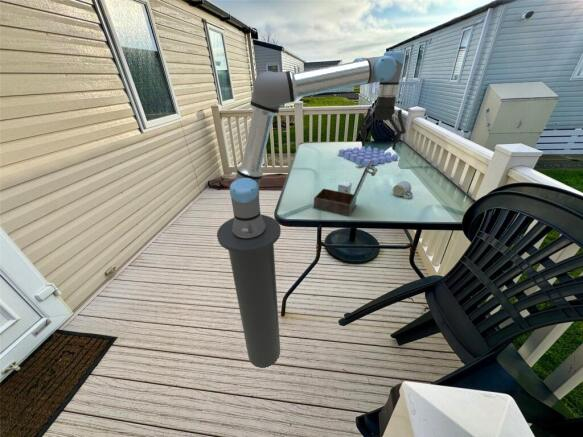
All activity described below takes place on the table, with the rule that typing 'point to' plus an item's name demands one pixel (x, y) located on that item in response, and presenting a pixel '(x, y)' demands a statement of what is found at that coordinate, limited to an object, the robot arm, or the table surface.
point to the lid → (363, 180)
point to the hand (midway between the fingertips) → (378, 147)
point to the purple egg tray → (367, 156)
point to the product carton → (344, 187)
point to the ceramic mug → (403, 189)
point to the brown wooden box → (334, 202)
